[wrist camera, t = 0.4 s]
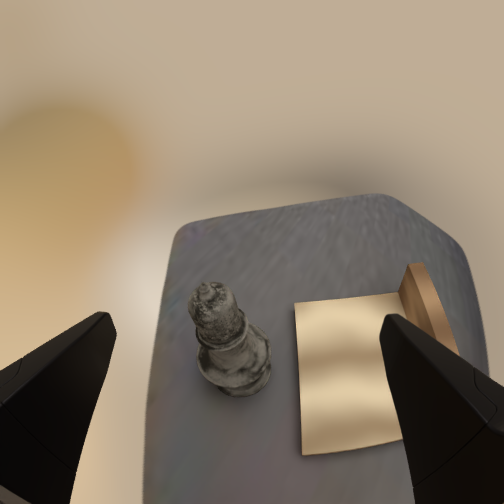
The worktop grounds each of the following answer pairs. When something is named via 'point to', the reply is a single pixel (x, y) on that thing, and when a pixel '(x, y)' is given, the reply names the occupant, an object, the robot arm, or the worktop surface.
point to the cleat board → (357, 363)
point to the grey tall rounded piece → (228, 342)
